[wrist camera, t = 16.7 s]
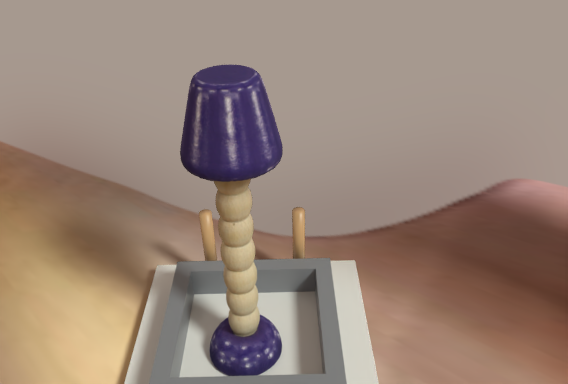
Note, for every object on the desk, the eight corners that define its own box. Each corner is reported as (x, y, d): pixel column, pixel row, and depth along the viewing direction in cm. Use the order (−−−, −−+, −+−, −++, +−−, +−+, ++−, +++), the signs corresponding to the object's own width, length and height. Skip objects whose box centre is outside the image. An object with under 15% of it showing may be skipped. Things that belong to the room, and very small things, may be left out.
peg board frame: (354, 270, 38) (359, 202, 34) (389, 461, 26) (402, 385, 23) (159, 275, 38) (145, 207, 34) (107, 469, 26) (79, 393, 23)
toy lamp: (203, 323, 33) (164, 62, 23) (276, 307, 34) (266, 50, 24) (216, 387, 29) (174, 104, 19) (297, 367, 30) (295, 89, 20)
